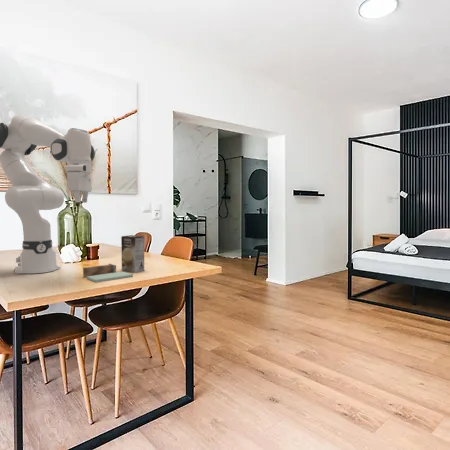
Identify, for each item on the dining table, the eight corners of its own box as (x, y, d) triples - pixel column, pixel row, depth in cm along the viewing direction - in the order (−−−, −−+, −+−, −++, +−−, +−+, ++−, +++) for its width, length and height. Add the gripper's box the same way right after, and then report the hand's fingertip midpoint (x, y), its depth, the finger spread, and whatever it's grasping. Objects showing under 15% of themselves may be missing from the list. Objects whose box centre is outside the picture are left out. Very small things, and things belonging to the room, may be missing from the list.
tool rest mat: (86, 278, 147) (86, 276, 147) (123, 273, 158) (123, 271, 158) (95, 282, 141) (95, 279, 140) (132, 276, 151) (132, 274, 151)
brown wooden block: (87, 278, 148) (86, 269, 148) (81, 276, 153) (81, 267, 152) (116, 274, 157) (116, 265, 157) (110, 272, 161) (110, 263, 161)
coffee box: (120, 270, 165) (120, 236, 164) (131, 268, 171) (130, 235, 170) (135, 272, 160) (134, 237, 159) (145, 270, 166) (144, 235, 165)
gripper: (79, 171, 156) (80, 202, 157) (63, 165, 136) (65, 202, 137) (94, 171, 157) (95, 202, 157) (80, 165, 136) (82, 202, 137)
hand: (81, 202), depth 147 cm, fingers open, 8 cm apart
